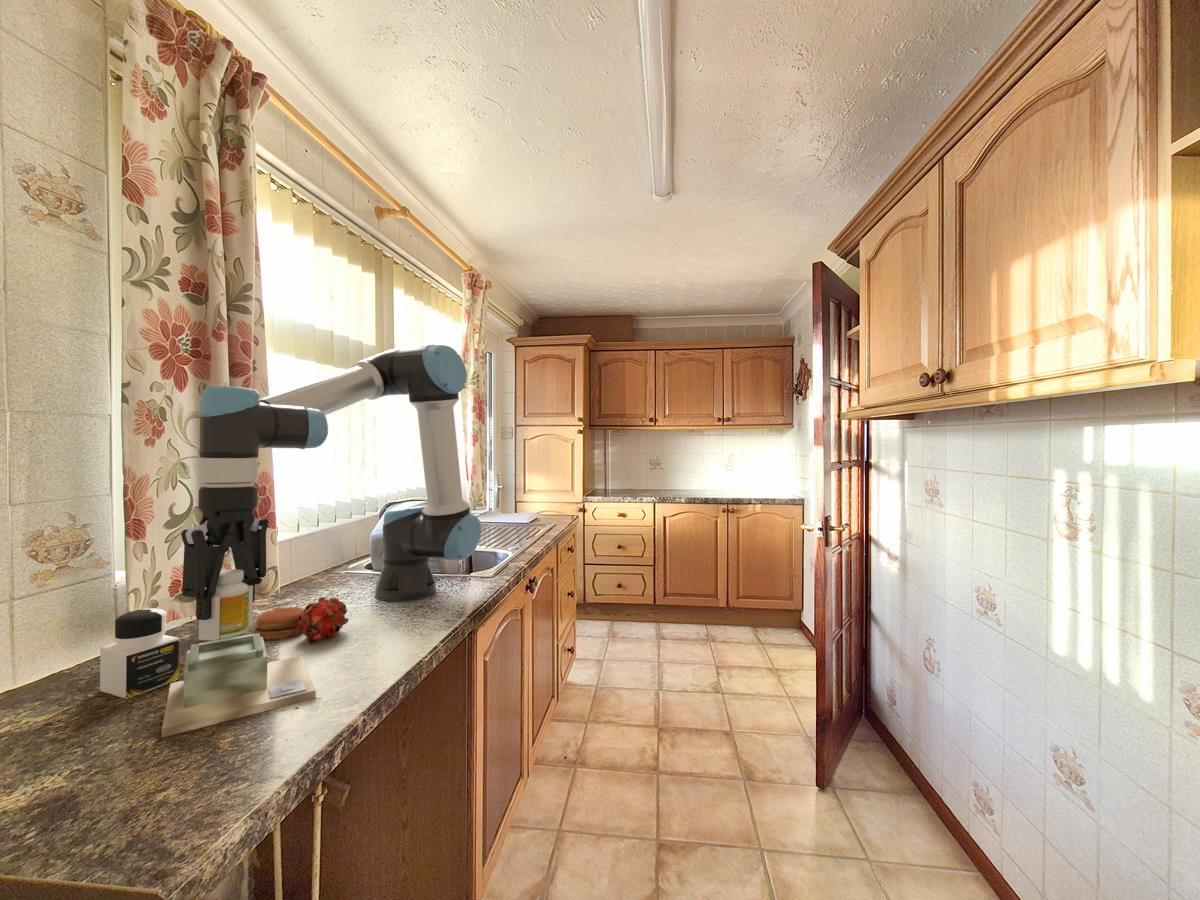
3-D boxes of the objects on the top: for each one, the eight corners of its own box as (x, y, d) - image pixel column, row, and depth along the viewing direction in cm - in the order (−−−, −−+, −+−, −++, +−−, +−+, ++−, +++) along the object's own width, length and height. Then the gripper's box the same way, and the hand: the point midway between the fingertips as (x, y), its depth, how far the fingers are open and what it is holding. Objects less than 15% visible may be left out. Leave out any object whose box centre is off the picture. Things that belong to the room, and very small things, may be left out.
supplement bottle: (251, 633, 78) (252, 572, 78) (208, 642, 74) (209, 578, 74) (244, 625, 82) (245, 566, 82) (202, 633, 78) (203, 571, 78)
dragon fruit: (339, 632, 108) (315, 664, 97) (305, 612, 107) (275, 641, 95) (362, 602, 108) (340, 630, 96) (328, 581, 106) (301, 607, 95)
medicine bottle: (126, 700, 76) (127, 621, 76) (98, 691, 78) (99, 615, 78) (179, 680, 82) (180, 608, 82) (152, 673, 85) (153, 603, 85)
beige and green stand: (301, 662, 90) (302, 622, 90) (315, 697, 77) (316, 651, 77) (170, 690, 79) (171, 645, 79) (161, 737, 66) (162, 683, 66)
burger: (284, 642, 99) (285, 619, 99) (243, 640, 100) (243, 617, 100) (319, 625, 109) (319, 604, 109) (280, 623, 110) (281, 602, 110)
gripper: (255, 481, 88) (253, 611, 88) (148, 488, 70) (145, 653, 69) (293, 482, 87) (291, 614, 87) (195, 489, 69) (192, 657, 69)
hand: (226, 631), depth 78 cm, fingers closed on supplement bottle, 5 cm apart
